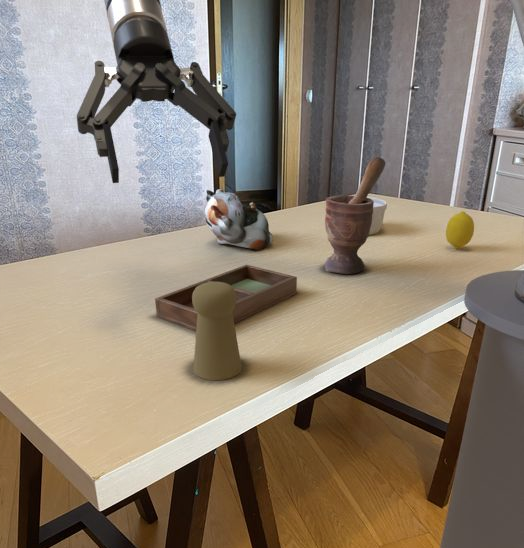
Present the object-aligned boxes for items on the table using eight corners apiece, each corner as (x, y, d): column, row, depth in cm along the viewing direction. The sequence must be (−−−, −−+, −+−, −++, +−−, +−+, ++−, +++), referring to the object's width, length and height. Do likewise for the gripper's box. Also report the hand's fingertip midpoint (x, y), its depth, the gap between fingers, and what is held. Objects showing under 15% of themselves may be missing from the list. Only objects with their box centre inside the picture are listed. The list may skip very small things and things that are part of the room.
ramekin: (394, 229, 129) (397, 200, 126) (365, 240, 120) (368, 209, 117) (348, 221, 136) (350, 193, 133) (318, 231, 128) (319, 201, 125)
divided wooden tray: (296, 293, 90) (297, 276, 88) (209, 335, 75) (208, 316, 73) (246, 280, 96) (246, 264, 94) (156, 316, 81) (154, 298, 80)
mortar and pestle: (342, 256, 109) (349, 153, 100) (381, 263, 105) (392, 156, 96) (314, 270, 101) (319, 159, 92) (355, 279, 96) (365, 163, 87)
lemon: (475, 249, 113) (482, 212, 109) (459, 254, 110) (465, 215, 106) (454, 244, 117) (460, 207, 113) (437, 248, 114) (443, 210, 111)
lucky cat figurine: (276, 250, 112) (250, 196, 103) (225, 271, 115) (194, 220, 105) (269, 215, 123) (244, 162, 114) (222, 235, 126) (195, 185, 116)
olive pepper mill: (248, 375, 65) (246, 290, 60) (199, 383, 63) (194, 296, 58) (233, 354, 70) (231, 274, 65) (188, 361, 68) (182, 279, 63)
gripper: (224, 63, 79) (258, 185, 73) (46, 62, 71) (69, 197, 66) (234, 18, 72) (272, 149, 67) (38, 11, 64) (63, 158, 59)
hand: (171, 173), depth 66 cm, fingers open, 13 cm apart
